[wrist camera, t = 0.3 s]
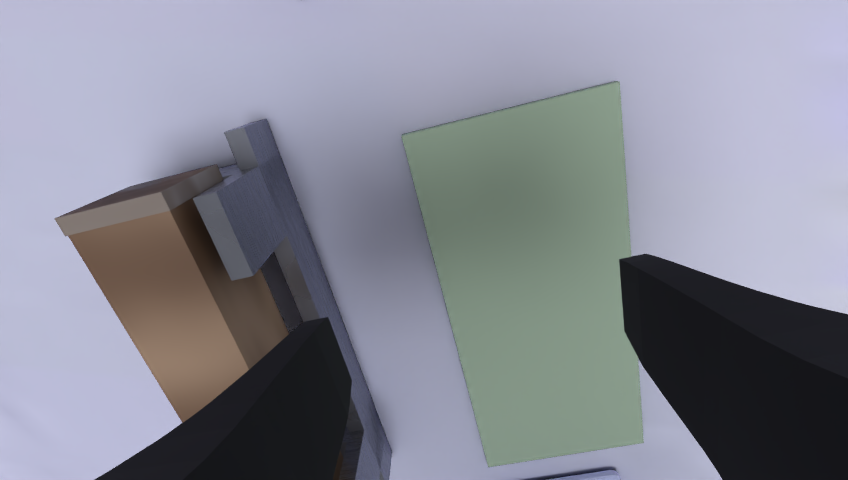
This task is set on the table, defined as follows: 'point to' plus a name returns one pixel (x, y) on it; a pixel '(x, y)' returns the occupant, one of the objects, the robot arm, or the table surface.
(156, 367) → the rail
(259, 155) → the standards
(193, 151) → the table surface
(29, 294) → the table surface
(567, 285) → the mat
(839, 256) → the table surface
